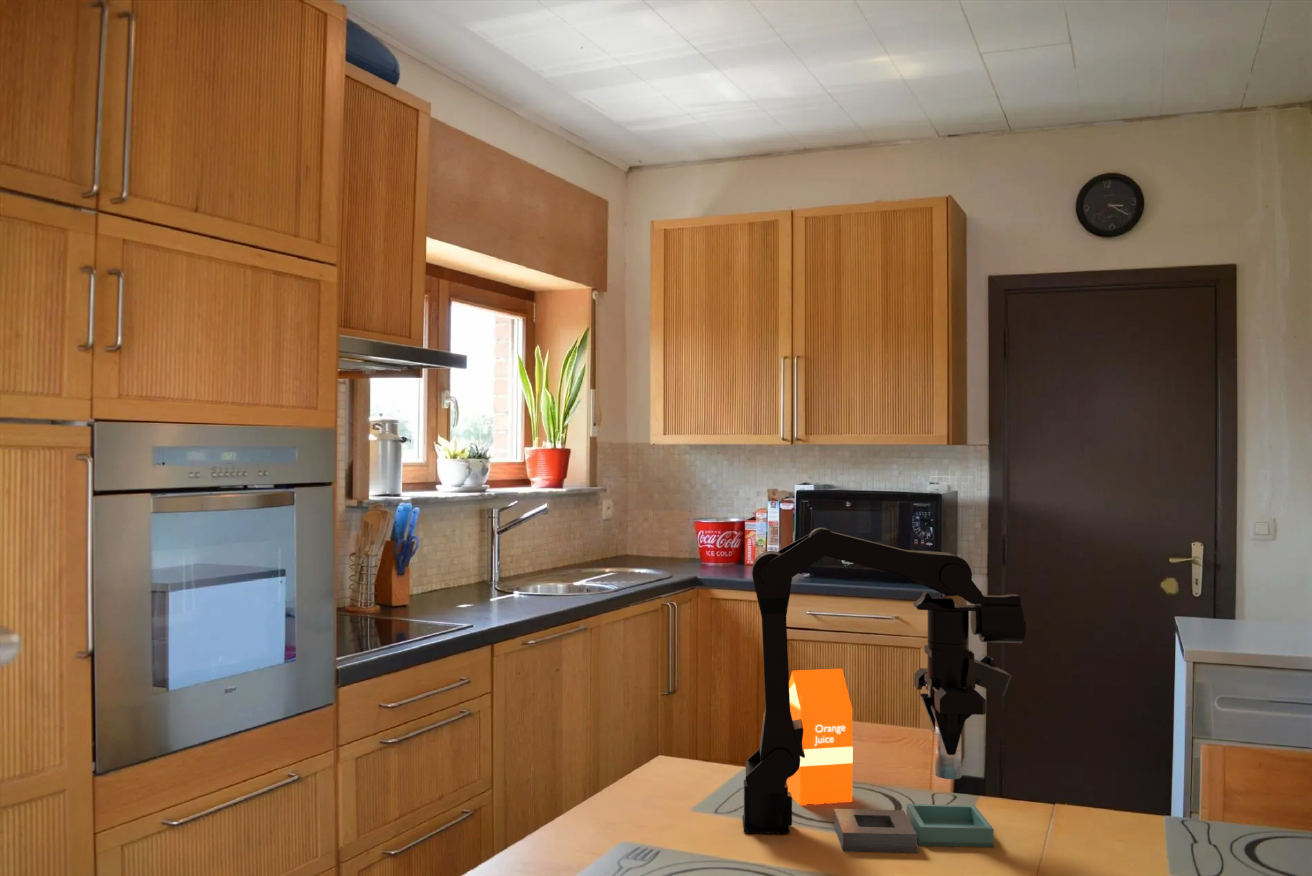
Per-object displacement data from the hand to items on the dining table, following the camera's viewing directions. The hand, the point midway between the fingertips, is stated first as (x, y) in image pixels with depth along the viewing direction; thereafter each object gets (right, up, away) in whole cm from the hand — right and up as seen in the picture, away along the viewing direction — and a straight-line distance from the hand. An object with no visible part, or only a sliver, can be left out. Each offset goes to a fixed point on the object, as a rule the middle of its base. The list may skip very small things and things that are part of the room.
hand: (947, 750), depth 149 cm
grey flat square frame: (-11, -12, -3) cm, 16 cm away
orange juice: (-16, -12, +16) cm, 26 cm away
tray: (0, -12, 0) cm, 12 cm away
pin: (0, -4, 0) cm, 4 cm away
